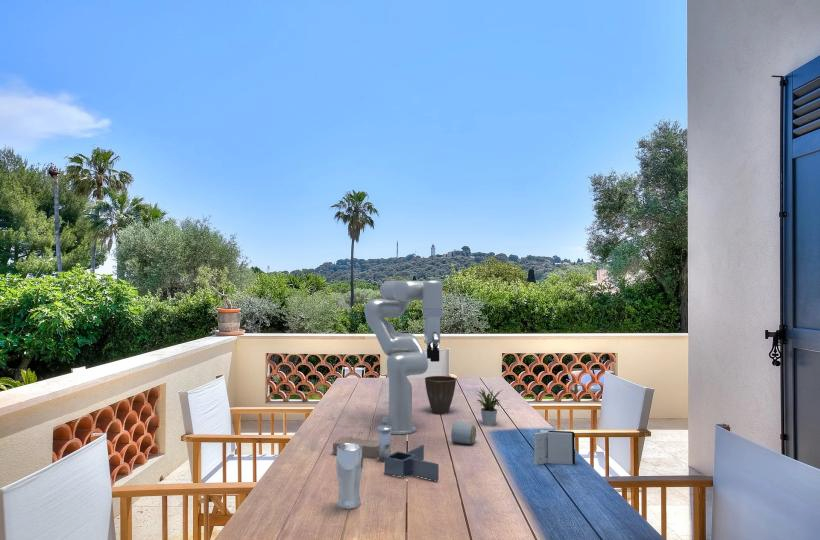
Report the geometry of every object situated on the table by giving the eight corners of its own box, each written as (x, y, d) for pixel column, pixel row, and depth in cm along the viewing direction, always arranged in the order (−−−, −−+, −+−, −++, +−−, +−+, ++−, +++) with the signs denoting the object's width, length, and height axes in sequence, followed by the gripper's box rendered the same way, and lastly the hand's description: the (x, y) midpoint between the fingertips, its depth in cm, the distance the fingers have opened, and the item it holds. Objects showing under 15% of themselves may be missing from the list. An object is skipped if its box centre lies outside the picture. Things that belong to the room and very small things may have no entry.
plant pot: (461, 411, 236) (461, 377, 237) (446, 417, 223) (446, 382, 224) (434, 407, 244) (434, 374, 245) (418, 413, 231) (418, 379, 232)
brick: (384, 451, 175) (384, 438, 175) (378, 459, 167) (378, 445, 167) (340, 449, 178) (340, 435, 179) (331, 456, 170) (332, 442, 170)
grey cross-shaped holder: (384, 473, 152) (384, 457, 153) (413, 458, 167) (414, 443, 167) (431, 485, 143) (431, 467, 143) (458, 468, 157) (458, 452, 158)
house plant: (465, 426, 208) (465, 387, 209) (473, 418, 221) (473, 382, 222) (499, 429, 203) (498, 389, 204) (505, 422, 216) (505, 384, 217)
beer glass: (336, 499, 133) (337, 443, 134) (362, 498, 133) (363, 442, 134) (334, 510, 126) (335, 451, 127) (362, 509, 126) (362, 450, 127)
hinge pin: (374, 460, 164) (374, 427, 165) (383, 456, 169) (383, 424, 169) (386, 463, 162) (386, 430, 162) (395, 459, 166) (395, 426, 166)
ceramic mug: (472, 447, 180) (472, 425, 180) (450, 444, 182) (450, 423, 183) (478, 439, 190) (478, 419, 190) (458, 437, 192) (458, 417, 193)
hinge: (535, 465, 160) (534, 434, 161) (530, 460, 166) (530, 429, 166) (577, 464, 161) (576, 433, 162) (570, 459, 166) (570, 429, 167)
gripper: (419, 313, 192) (420, 357, 190) (425, 314, 174) (425, 362, 173) (438, 313, 192) (439, 357, 191) (446, 314, 175) (447, 362, 174)
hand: (432, 359), depth 182 cm, fingers open, 9 cm apart
